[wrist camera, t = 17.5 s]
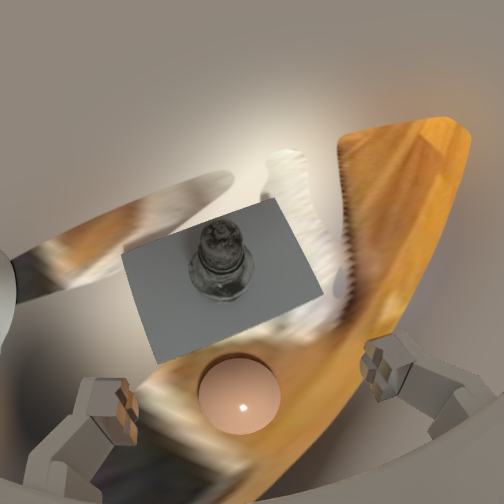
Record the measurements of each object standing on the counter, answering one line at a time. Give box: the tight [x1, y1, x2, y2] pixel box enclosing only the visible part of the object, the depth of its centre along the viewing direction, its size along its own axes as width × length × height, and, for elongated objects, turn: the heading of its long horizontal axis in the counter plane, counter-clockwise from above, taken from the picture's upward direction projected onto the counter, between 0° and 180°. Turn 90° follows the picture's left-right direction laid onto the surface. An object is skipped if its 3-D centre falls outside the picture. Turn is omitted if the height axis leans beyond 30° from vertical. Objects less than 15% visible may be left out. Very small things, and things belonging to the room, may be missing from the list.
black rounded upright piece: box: [188, 219, 255, 304], centre depth 24 cm, size 6×6×12 cm
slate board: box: [121, 198, 324, 364], centre depth 30 cm, size 18×12×2 cm, turn 114°
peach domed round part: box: [199, 358, 280, 434], centre depth 27 cm, size 8×8×1 cm
